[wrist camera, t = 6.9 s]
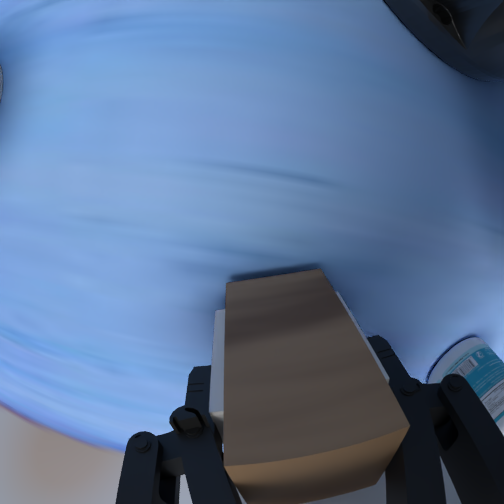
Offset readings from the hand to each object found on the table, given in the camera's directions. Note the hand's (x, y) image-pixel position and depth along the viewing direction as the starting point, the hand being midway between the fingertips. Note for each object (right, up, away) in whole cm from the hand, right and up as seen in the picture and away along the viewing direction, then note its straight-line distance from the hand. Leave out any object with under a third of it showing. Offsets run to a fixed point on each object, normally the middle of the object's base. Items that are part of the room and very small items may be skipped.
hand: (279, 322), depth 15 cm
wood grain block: (+1, -4, +3) cm, 5 cm away
